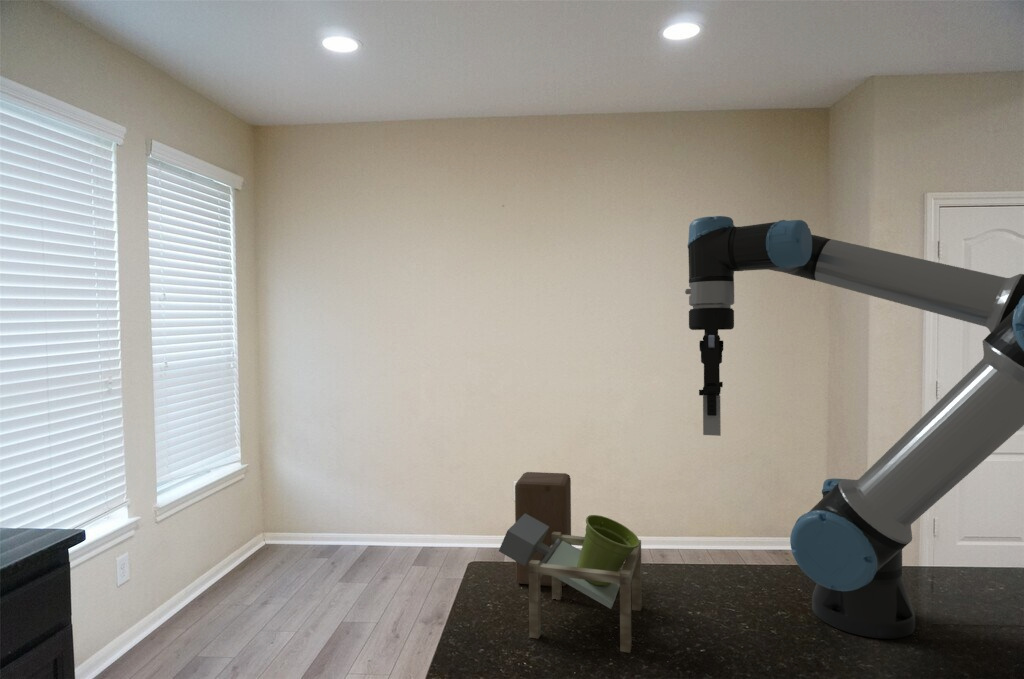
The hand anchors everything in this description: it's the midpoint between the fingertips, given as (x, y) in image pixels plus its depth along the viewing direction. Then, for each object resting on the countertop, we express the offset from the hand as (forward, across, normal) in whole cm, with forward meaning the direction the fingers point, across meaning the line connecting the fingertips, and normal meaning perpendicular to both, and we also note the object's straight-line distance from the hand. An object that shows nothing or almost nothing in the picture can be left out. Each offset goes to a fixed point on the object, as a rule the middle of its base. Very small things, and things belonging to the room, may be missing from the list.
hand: (711, 428), depth 106 cm
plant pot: (+24, +12, -19) cm, 33 cm away
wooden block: (+32, -5, -32) cm, 45 cm away
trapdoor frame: (+32, +11, -20) cm, 39 cm away
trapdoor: (+24, +11, -25) cm, 36 cm away
